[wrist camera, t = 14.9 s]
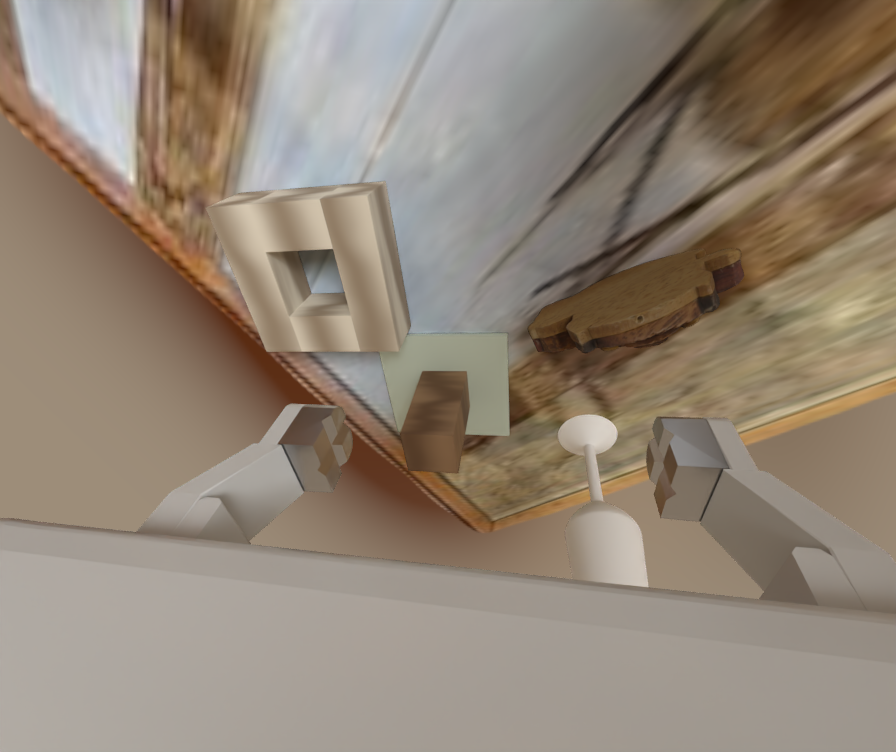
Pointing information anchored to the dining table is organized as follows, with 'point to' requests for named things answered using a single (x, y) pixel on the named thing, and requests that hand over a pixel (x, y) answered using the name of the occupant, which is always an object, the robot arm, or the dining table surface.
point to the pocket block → (283, 278)
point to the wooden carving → (639, 303)
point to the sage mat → (454, 353)
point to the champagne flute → (600, 515)
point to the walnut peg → (436, 422)
